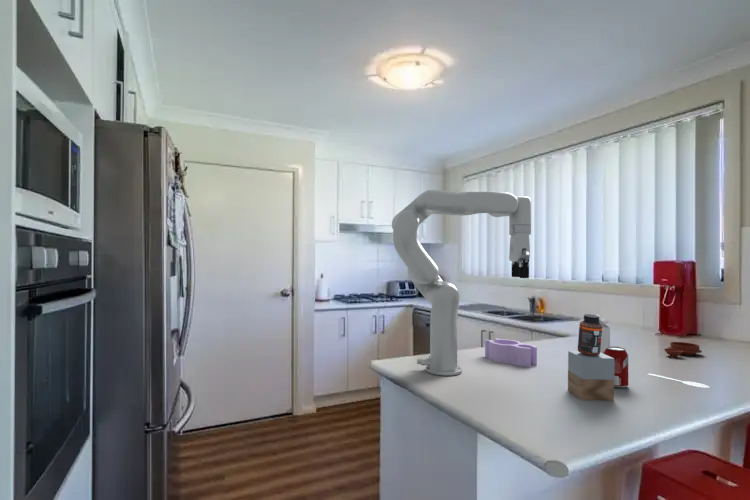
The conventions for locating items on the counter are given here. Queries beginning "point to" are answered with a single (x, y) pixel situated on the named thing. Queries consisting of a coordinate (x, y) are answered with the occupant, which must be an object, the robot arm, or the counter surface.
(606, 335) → the milk carton
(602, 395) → the tower base block
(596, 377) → the tower top block
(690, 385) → the spoon
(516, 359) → the clip
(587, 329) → the supplement bottle
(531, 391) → the counter surface
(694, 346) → the pottery
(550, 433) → the counter surface
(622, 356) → the soda can
